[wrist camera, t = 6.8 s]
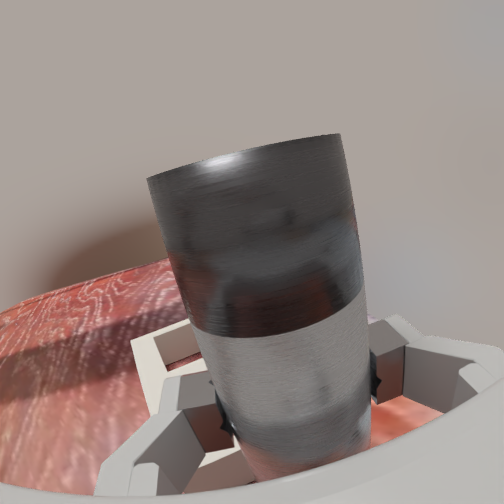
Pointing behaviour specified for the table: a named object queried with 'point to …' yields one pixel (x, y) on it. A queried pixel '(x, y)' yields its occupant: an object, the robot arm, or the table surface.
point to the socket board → (152, 378)
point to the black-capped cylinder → (275, 297)
